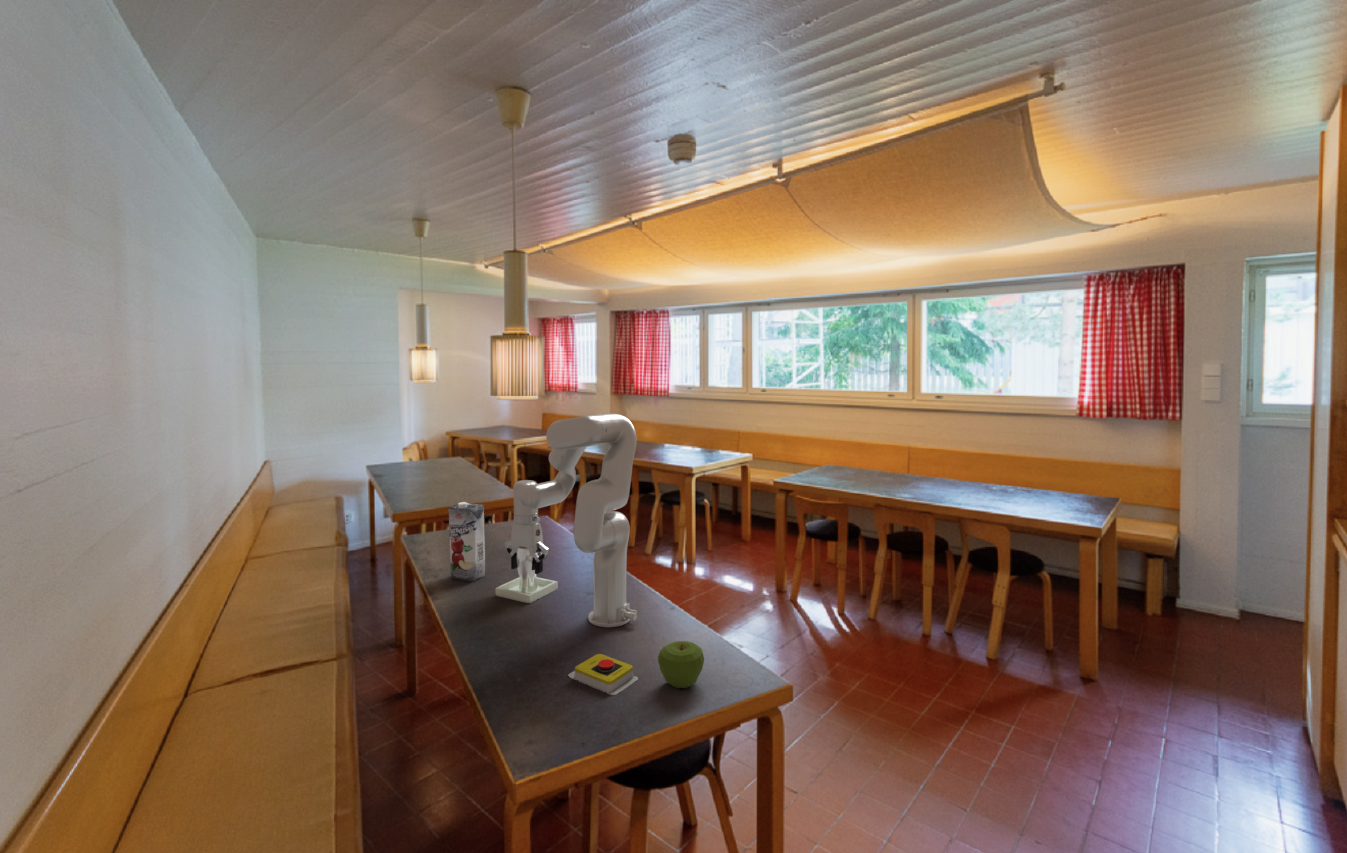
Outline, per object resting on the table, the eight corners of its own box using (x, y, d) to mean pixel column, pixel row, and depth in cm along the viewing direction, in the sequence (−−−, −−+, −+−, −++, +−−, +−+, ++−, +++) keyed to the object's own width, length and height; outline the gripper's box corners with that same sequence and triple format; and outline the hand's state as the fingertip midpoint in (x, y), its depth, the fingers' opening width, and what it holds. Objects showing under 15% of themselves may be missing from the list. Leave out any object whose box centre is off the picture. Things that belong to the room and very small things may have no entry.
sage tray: (557, 588, 195) (557, 581, 194) (530, 603, 182) (529, 595, 182) (524, 581, 201) (524, 574, 200) (495, 595, 188) (495, 588, 188)
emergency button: (614, 679, 131) (565, 660, 139) (614, 698, 131) (566, 678, 139) (640, 662, 138) (592, 645, 147) (640, 680, 139) (592, 662, 147)
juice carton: (464, 571, 210) (462, 497, 207) (488, 575, 207) (487, 500, 204) (447, 580, 202) (444, 503, 199) (472, 584, 198) (470, 505, 196)
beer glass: (512, 591, 191) (511, 546, 189) (529, 585, 196) (529, 541, 195) (526, 596, 186) (525, 550, 185) (543, 589, 192) (542, 545, 190)
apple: (689, 668, 143) (690, 629, 142) (712, 689, 134) (713, 647, 133) (650, 679, 138) (650, 639, 137) (670, 701, 129) (671, 658, 128)
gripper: (555, 519, 189) (555, 571, 190) (513, 513, 196) (514, 563, 198) (539, 524, 182) (540, 578, 184) (497, 518, 190) (498, 569, 191)
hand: (526, 570), depth 191 cm, fingers open, 9 cm apart
